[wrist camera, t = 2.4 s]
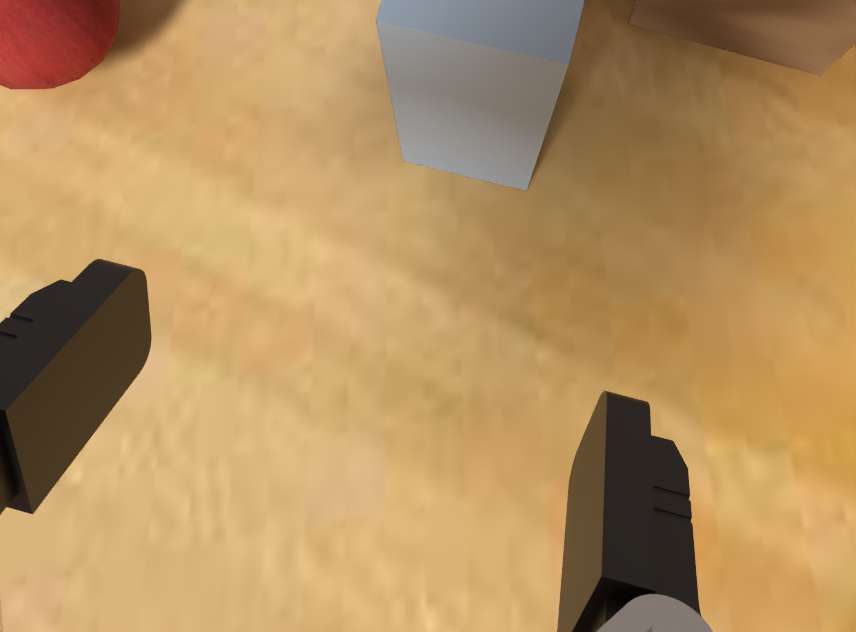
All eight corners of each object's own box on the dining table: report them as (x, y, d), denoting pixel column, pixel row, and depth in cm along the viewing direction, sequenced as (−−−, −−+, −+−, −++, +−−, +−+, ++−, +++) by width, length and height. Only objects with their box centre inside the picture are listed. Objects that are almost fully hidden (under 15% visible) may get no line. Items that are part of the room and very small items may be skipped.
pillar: (403, 161, 28) (375, 20, 18) (434, 44, 28) (425, -156, 18) (526, 190, 27) (568, 65, 17) (556, 72, 28) (613, -116, 18)
